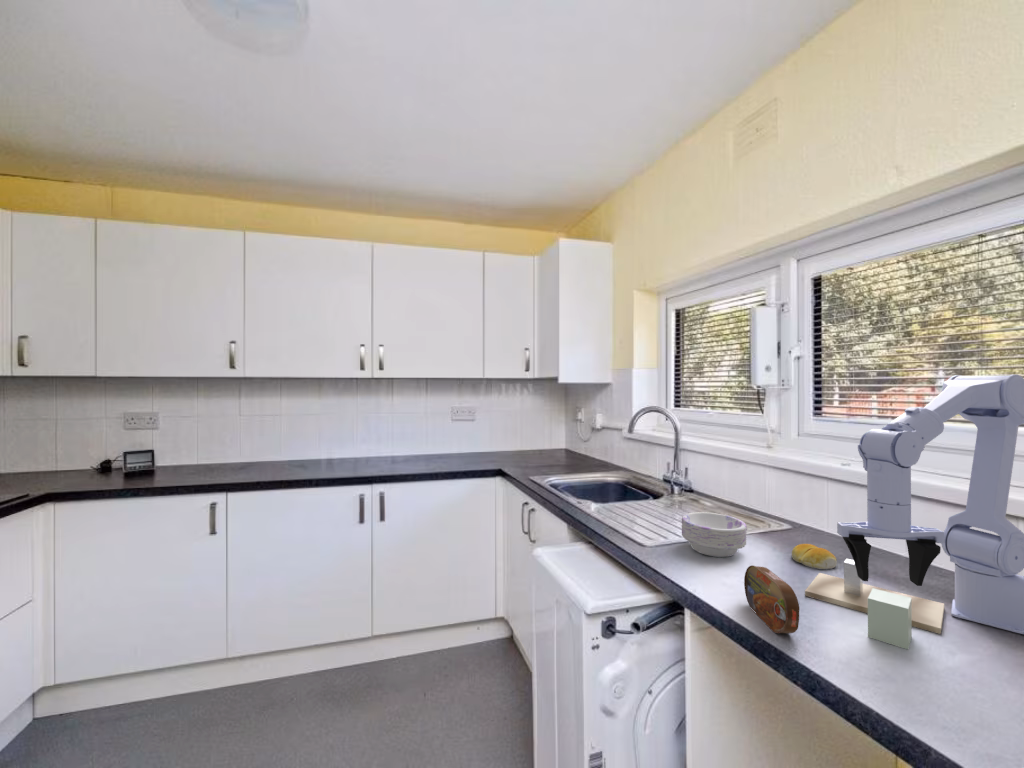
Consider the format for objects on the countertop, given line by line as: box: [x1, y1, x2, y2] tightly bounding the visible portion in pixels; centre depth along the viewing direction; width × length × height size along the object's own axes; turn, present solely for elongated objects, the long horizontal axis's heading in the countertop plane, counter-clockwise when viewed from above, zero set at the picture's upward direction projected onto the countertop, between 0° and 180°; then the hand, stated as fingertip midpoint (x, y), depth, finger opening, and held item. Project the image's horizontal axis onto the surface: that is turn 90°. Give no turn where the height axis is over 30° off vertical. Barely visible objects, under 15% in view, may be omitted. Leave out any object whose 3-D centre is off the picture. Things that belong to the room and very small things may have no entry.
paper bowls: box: [681, 511, 748, 558], centre depth 117 cm, size 15×15×8 cm
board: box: [804, 572, 945, 635], centre depth 89 cm, size 20×12×1 cm, turn 44°
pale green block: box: [867, 588, 913, 650], centre depth 77 cm, size 5×5×7 cm
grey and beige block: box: [843, 558, 864, 596], centre depth 91 cm, size 3×3×6 cm
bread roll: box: [791, 543, 838, 570], centre depth 109 cm, size 8×9×4 cm
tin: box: [743, 565, 800, 635], centre depth 83 cm, size 15×3×8 cm, turn 177°
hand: (889, 581), depth 77 cm, fingers open, 7 cm apart
